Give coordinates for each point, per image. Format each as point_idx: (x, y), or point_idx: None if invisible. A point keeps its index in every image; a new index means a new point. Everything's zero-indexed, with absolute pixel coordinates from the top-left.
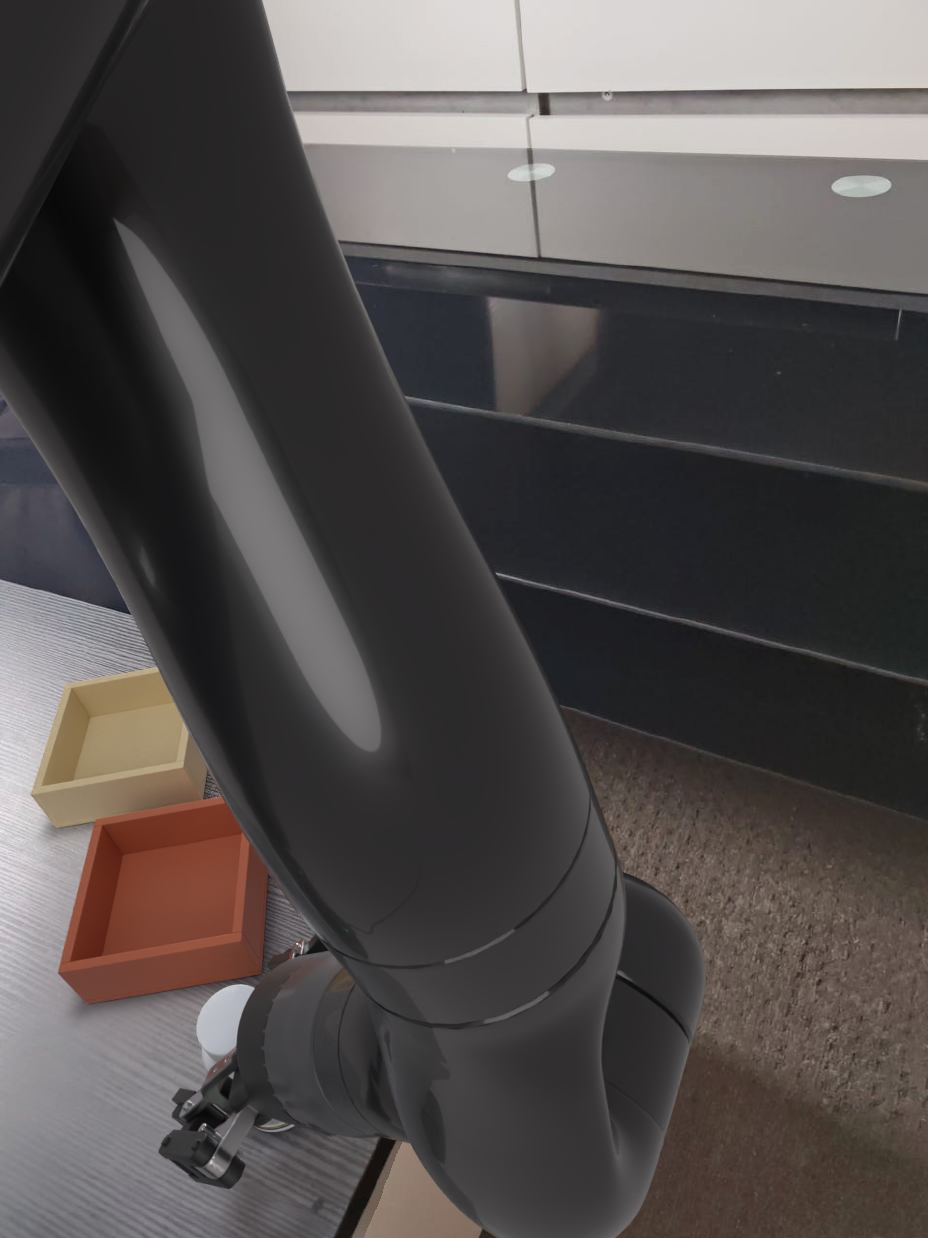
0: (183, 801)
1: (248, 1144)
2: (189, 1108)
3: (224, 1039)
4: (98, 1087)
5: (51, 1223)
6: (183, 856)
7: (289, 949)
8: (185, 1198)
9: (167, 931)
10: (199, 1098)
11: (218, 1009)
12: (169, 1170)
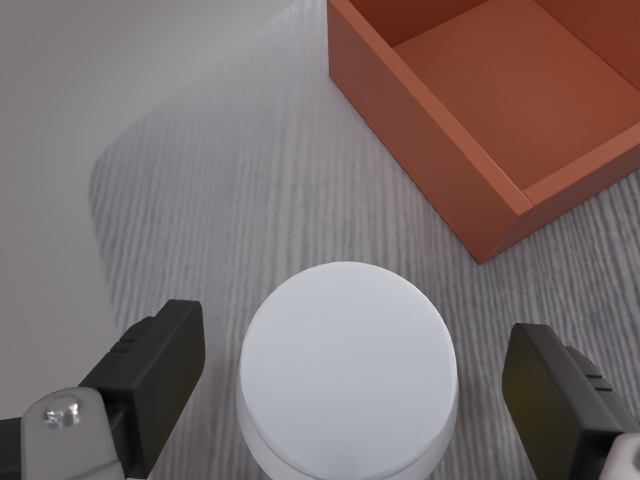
0: None
1: None
2: (35, 436)
3: (287, 381)
4: (247, 152)
5: (93, 202)
6: (565, 52)
7: (592, 367)
8: None
9: (460, 100)
10: (47, 468)
11: (354, 308)
12: None
